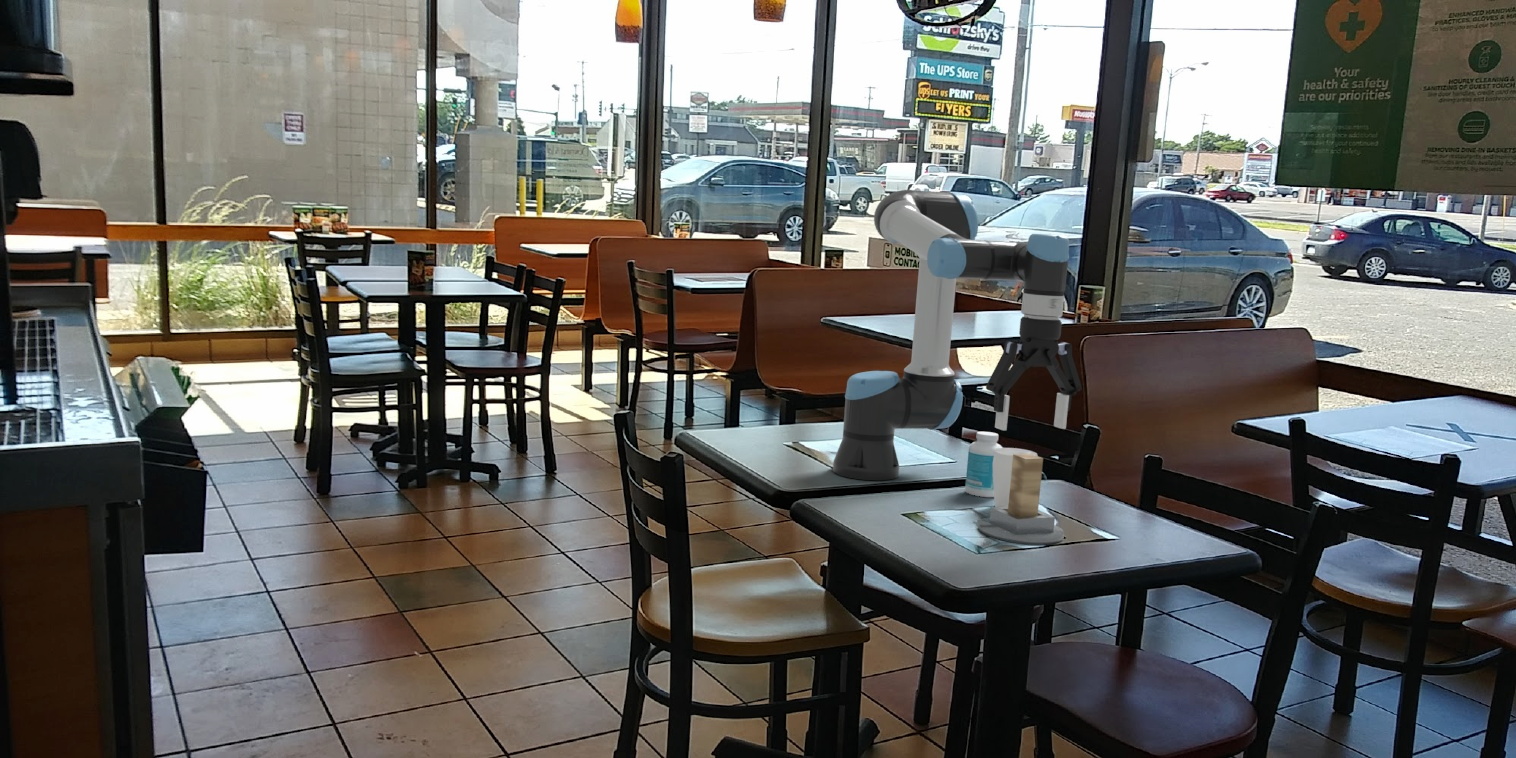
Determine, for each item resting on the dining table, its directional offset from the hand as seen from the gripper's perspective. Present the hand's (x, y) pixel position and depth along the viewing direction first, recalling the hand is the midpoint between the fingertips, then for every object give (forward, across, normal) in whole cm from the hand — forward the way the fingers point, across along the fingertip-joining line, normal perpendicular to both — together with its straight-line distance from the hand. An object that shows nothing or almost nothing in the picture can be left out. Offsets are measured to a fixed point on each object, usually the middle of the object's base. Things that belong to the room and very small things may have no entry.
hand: (1030, 428), depth 217 cm
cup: (+21, +9, +16) cm, 28 cm away
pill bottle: (+21, +10, +28) cm, 36 cm away
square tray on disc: (+20, 0, 0) cm, 20 cm away
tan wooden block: (+19, 0, 0) cm, 19 cm away
